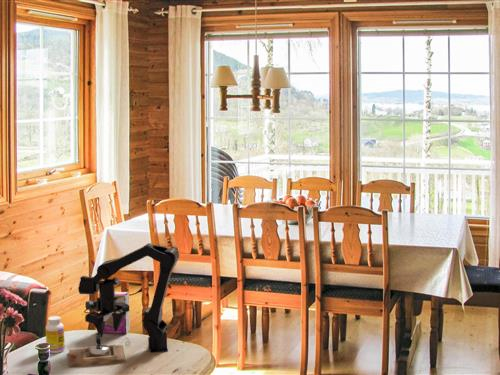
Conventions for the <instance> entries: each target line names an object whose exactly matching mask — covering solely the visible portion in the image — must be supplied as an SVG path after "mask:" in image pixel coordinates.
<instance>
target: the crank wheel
mask: <svg viewBox="0 0 500 375" xmlns="http://www.w3.org/2000/svg"><path fill="white" fill-rule="evenodd" d="M95 343H96V344H95V345H92V346H89V347H90V356H91V357H102V356H108V355H109V345H107V344H102V338H101V333H99V332H96V333H95Z"/></svg>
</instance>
